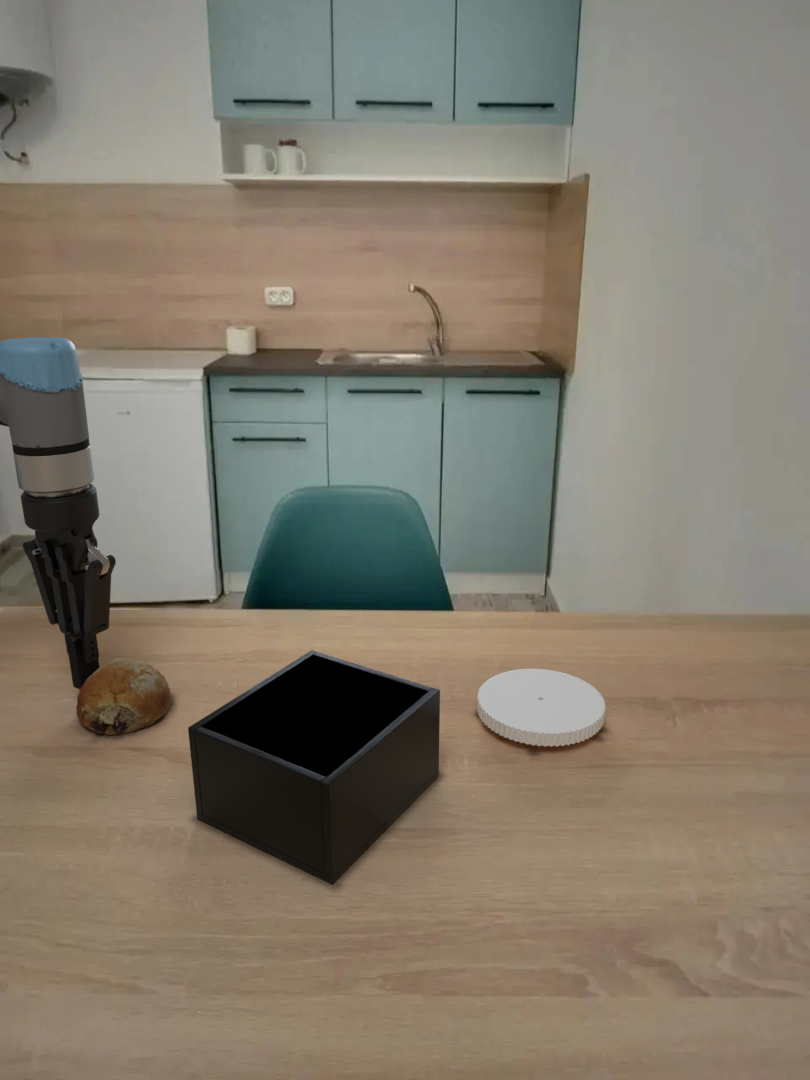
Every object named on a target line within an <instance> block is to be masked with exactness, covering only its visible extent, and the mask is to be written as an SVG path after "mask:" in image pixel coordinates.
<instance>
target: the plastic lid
mask: <svg viewBox="0 0 810 1080" xmlns="http://www.w3.org/2000/svg"><path fill="white" fill-rule="evenodd" d="M476 711H477V715H478V717H479V719H480V720H481V722H482V723H484V725H485V726H486V727H487V728H488V729H490V731H491V732H494V733H495V734H498V735H499V736H501V737H503V738H505V739H508V740H509V741H514V742H516V743H517V742H519V744H525V745H531V746H537V747H541V746H542V747H550V748H552V747H559V746H560V747H561V746H562V747H564V746H570V745H571V744H572V745H575V744H576V743H578V744H579V743H581V742H585V741H586V740H589V739H590V738H593V736H595V735H596V734H597V733H599V731H601V729H602V728H603V725H604V723H605V717H606V701H605V699H604V696H602V693H600V691H599V690H597V687H594V685H592V684H591V683H589V682H587V680H583V679H582V678H579V677H578V676H574V674H569V673H564V671H561V672H560V671H559V670H553V669H548V668H546V669H543V668H536V667H535V668H523V669H522V668H519V669H513V670H511V669H510V670H506V671H505V672H500V673H497V674H496V675H493V676H490V677H489V679H486V681H483V683H481V685H480V687H479V689H478V690H477V697H476Z"/></svg>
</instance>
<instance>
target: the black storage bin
mask: <svg viewBox="0 0 810 1080" xmlns="http://www.w3.org/2000/svg"><path fill="white" fill-rule="evenodd" d="M440 718H441V690H440V689H439V688H435V687H431V686H428V685H425V684H421V683H419V682H415V681H412V680H408V679H406V678H402V677H399V676H396V675H393V674H390V673H387V672H384V671H380V670H377V669H373V668H371V667H367V666H365V665H361V664H357V663H354V662H352V661H348V660H345V659H341V658H339V657H335V656H331V655H330V654H329V655H328V654H325V653H322V652H320V651H317V650H312V649H311V650H309V651H308V652H306V653H305V654H303V655H301V656H299V657H298V658H297V659H295V660H294V661H292V662H290V663H289V664H287V665H286V666H284V667H282V668H280V669H279V670H278V671H276V672H274V673H273V674H271V675H270V676H267V677H266V678H264V679H263V680H261V681H259V682H258V683H257V684H255V685H254V686H252V687H250V688H249V689H247V690H246V691H244V692H242V693H241V694H239V695H238V696H236V697H235V698H233V699H231V700H229V701H228V702H226V703H225V704H223V705H222V706H220V707H219V708H217V709H215V710H214V711H212V712H211V713H209V714H207V715H206V716H204V717H203V718H201V719H199V720H197V721H196V722H195V723H193V724H192V725H190V726H188V727H187V732H188V741H189V752H190V760H191V771H192V772H191V773H192V782H193V788H194V789H193V790H194V801H195V810H196V819H197V820H198V821H200V822H201V823H203V824H206V825H207V826H210V827H213V828H214V829H217V831H220V832H222V833H224V834H227V835H229V836H231V837H232V838H235V839H237V840H239V841H241V842H243V843H246V844H248V845H250V846H252V847H253V848H255V849H258V850H260V851H262V852H264V853H266V854H268V855H270V856H272V857H273V858H275V859H278V860H280V861H283V862H284V863H287V864H288V865H290V866H293V867H294V868H297V869H298V870H301V871H304V872H305V873H307V874H309V875H311V876H313V877H315V878H317V879H320V880H321V881H324V882H325V883H328V884H330V885H334V884H335V883H336V882H337V881H338V880H339V879H340V878H341V877H342V876H343V875H344V874H345V873H346V872H347V871H348V870H349V868H351V867H352V866H353V865H354V864H355V863H356V861H358V860H359V858H360V857H361V856H363V854H364V853H366V851H367V850H368V849H369V848H370V847H371V846H372V845H373V844H374V843H375V842H376V841H377V840H378V839H379V838H380V837H381V836H382V835H383V834H384V833H385V832H386V831H387V830H388V829H389V828H390V827H391V826H392V825H393V823H395V822H396V821H397V820H398V818H400V817H401V815H402V814H404V813H405V812H406V810H407V809H409V807H410V806H411V805H412V804H413V803H414V802H416V800H417V799H418V798H419V797H420V796H421V795H422V794H423V793H424V792H425V791H426V790H427V789H428V788H429V787H430V786H431V785H432V784H433V783H434V782H435V781H436V780H437V779H438V778H439V775H440V769H439V768H440V725H441V723H440V720H441V719H440Z"/></svg>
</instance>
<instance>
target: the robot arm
mask: <svg viewBox="0 0 810 1080" xmlns="http://www.w3.org/2000/svg"><path fill="white" fill-rule="evenodd" d="M0 426H2V427H3V426H4V427H8V430H9V435H10V440H11V447H12V454H13V460H14V466H15V467H14V468H15V474H16V480H17V486H18V488H19V489H20V490H22V491H23V492H22V493H21V495H20V502H21V507H22V513H23V519H24V524H25V526H26V527H27V528H29V529H31V530H33V531H34V536H35V537H34V538H33V539H31V540H28V541H25V542H23V543H22V549H23V551H24V553H25V555H26V556H27V559H28V560H29V562H30V565H31V568H32V571H33V575H34V578H35V581H36V584H37V587H38V591H39V593H40V597H41V600H42V604H43V606H44V610H45V613H46V616H47V620H48V622H49V624H50V625H53V626H54V625H57V626H58V628H59V631H60V632H61V634H63V635H64V636H63V637H64V642H65V647H66V653H67V655H68V663H69V667H70V674H71V681H72V686H73V687H72V688H75V689H78V690H80V689H81V687H82V686H83V684H84V683H85V681H86V680H87V678H88V677H90V676H91V675H92V674H93V673H94V672H95V671H96V670H97V669H99V668H100V660H99V658H100V651H99V645H98V644H99V643H98V638H97V637H98V636H97V635H98V634H101V633H102V632H105V631H107V630H109V628H110V615H111V614H110V612H111V610H110V609H111V590H112V573H113V571H114V569H115V566H116V563H117V561H116V558H115V556H114V555H113V554H109V555H104V554H103V553H102V551H101V550H99V548H98V539H97V537H96V534H95V532H94V528H93V526H94V524H95V523H96V521H98V519H99V517H100V506H99V499H98V493H97V491H98V490H97V488H96V486H94V485H93V484H92V483H93V482H94V480H95V474H94V467H93V460H92V453H91V452H92V451H91V447H90V444H91V443H90V433H89V426H88V415H87V407H86V398H85V392H84V376H83V373H82V372H81V369H80V363H79V358H78V353H77V348H76V346H75V344H74V343H73V342H72V341H71V339H70V340H69V339H68V338H65V337H60V336H27V337H15V338H9V339H4V340H2V341H0Z"/></svg>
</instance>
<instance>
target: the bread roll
mask: <svg viewBox="0 0 810 1080" xmlns="http://www.w3.org/2000/svg"><path fill="white" fill-rule="evenodd" d="M170 705H171V688H170V686H169V683H168V681H167V679H166V676H165V675H164V674H162V673H161V672H160V671H159V670H158V669H157V668H156V667H154V666H153V665H151V664H150V663H148V662H146V661H143V660H141V659H137V658H128V657H127V658H123V657H114V658H113V659H111V660H110V661H109V662H107V663H105V664H103V665H102V666H99V669H97V670H96V671H95V672H94V673H93V674H92V675H91V676H90V677H88V678H87V680H86V681H85V683H84V684H83V686H82V687H81V689H79V692H78V695H77V699H76V717H77V719H78V720H79V722H80V724H81V725H82V726H83V727H84V728H86V729H87V730H90V731H93V732H95V733H98V734H99V735H102V734H104V735H106V736H111V735H112V736H113V735H122V734H127V733H128V734H129V733H133V732H135V731H139V730H141V729H144V728H147V727H150V726H153V725H154V724H155V723H156V721H158V720H160V719H161V718H162V717H163V716H164V715H166V713H167V711H168V710H169V708H170Z"/></svg>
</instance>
